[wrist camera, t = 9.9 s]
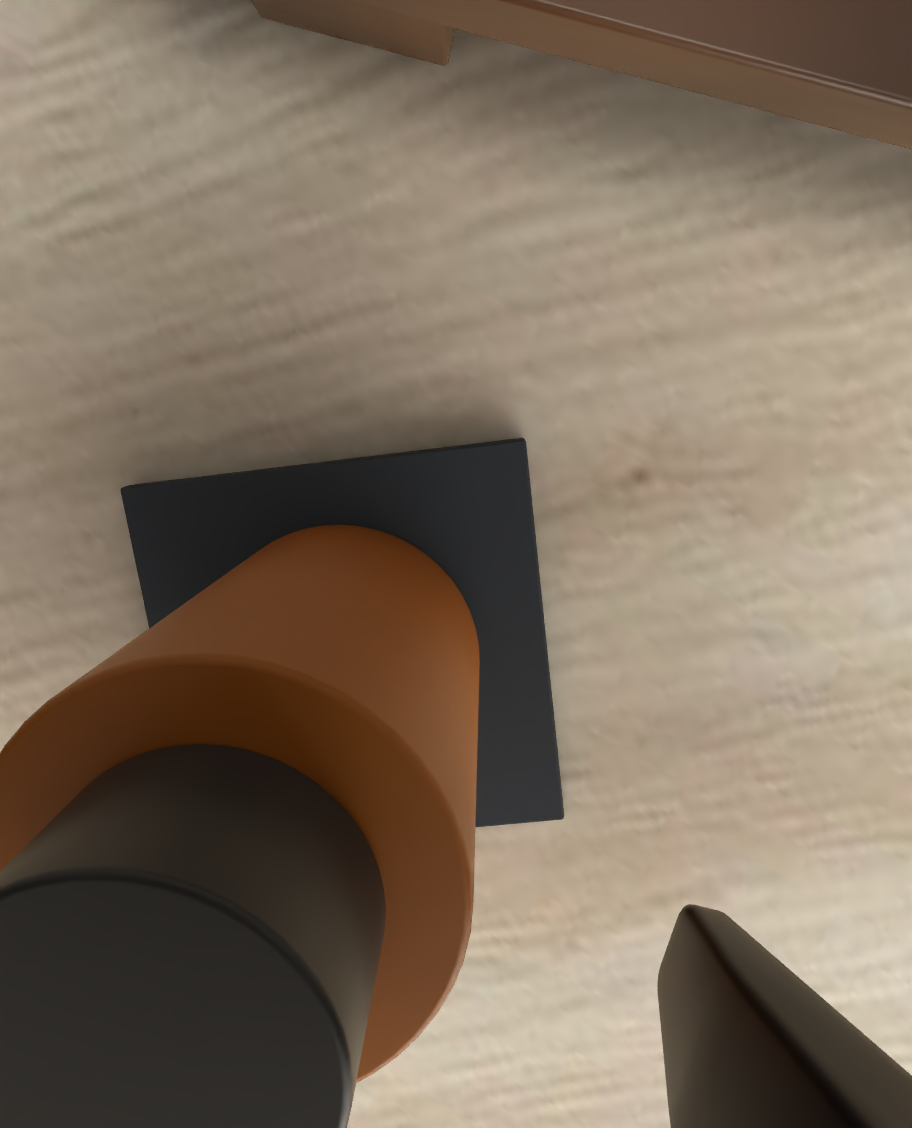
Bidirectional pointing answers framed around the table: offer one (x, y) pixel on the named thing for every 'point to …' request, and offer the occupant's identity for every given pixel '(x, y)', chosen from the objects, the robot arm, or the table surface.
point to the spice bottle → (243, 848)
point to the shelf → (674, 46)
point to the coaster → (427, 521)
